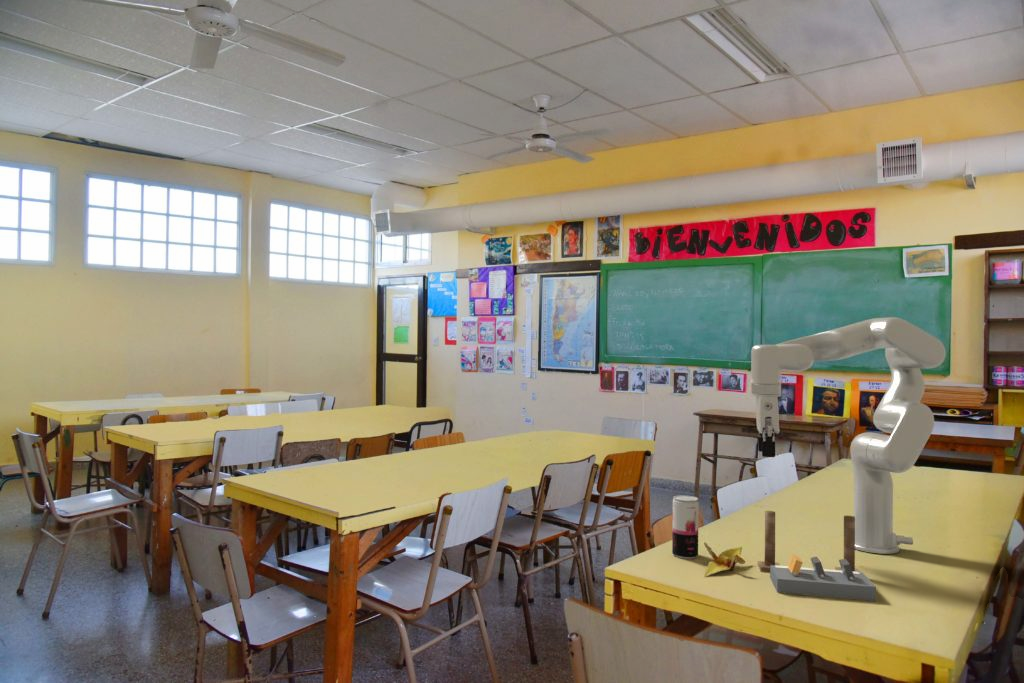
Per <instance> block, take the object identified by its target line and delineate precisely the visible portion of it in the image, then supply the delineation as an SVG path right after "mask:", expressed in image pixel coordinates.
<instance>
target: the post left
mask: <svg viewBox="0 0 1024 683" xmlns="http://www.w3.org/2000/svg"><path fill="white" fill-rule="evenodd" d="M770 565H778V566H782V565H781V564H780V562H777V561H776V511H774V510H765V511H764V561H762V560H758V561H757V567H758V569H759V571H760V572H764V573H765V572H766V573H770Z"/></svg>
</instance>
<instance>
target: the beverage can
mask: <svg viewBox="0 0 1024 683" xmlns="http://www.w3.org/2000/svg"><path fill="white" fill-rule="evenodd" d="M699 503H700V502H699V498H698V497H697V496H691V495H675V496H673V499H672V530H671V531H672V538H671V539H672V547H671V548H672V549H671V550H672V551H671V552H672V554H673V555H674V557H676V558H679V559H689V560H691V559H696V558H697V557H698V556H699V512H700V511H699V510H700V509H699V506H700V505H699Z"/></svg>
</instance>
